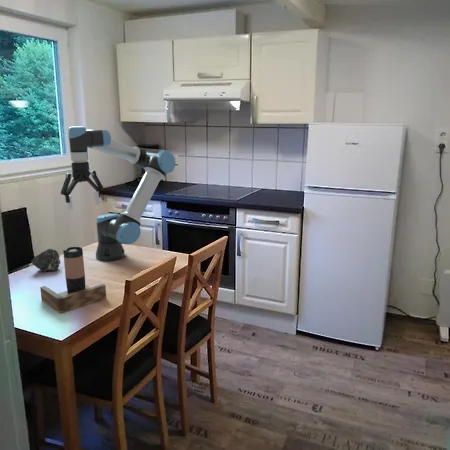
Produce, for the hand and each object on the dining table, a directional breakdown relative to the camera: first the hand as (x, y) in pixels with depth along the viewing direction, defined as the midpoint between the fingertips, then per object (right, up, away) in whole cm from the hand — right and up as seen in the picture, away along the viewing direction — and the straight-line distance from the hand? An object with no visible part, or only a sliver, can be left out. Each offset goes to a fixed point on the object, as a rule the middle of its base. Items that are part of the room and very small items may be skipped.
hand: (84, 207), depth 204 cm
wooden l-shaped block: (+3, -39, -22) cm, 45 cm away
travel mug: (+3, -38, -20) cm, 43 cm away
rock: (-22, -31, +11) cm, 39 cm away
